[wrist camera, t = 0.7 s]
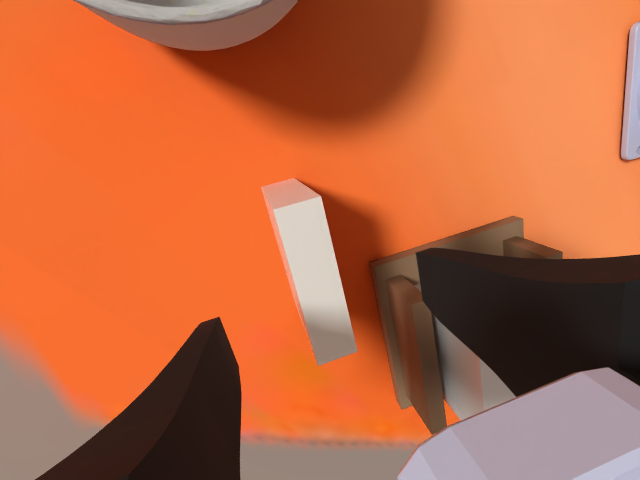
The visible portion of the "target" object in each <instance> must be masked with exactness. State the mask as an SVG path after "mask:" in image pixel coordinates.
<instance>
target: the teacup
mask: <svg viewBox="0 0 640 480" xmlns="http://www.w3.org/2000/svg"><path fill="white" fill-rule="evenodd" d="M74 1H76V2H78V3H80V4H81V5H83V6H85V7H86V8H88V9H89V10H91V11H92V12H94V13H95V14H97V15H99V16H101V17H102V18H104V19H106V20H107V21H109V22H111V23H113V24H114V25H116V26H118V27H120V28H122V29H124V30H126V31H128V32H130V33H132V34H134V35H136V36H138V37H141V38H143V39H146V40H149V41H152V42H155V43H157V44H160V45H163V46H168V47H173V48H178V49H184V50H195V51H211V50H218V49H225V48H229V47H233V46H237V45H239V44H242V43H245V42H247V41H250V40H252V39H254V38H256V37H258V36H260V35H261V34H263V33H265V32H266V31H267V30H269V29H270V28H272V27H273V26H274V25H276V24H277V23H278V22H279V21H280V20H281V19H282V18H283V17H284V16H285V15H286V14H287V13H288V12H289V11H290V10H291V9H292V8H293V7H294V5H295V4H296V3H297V2H298V0H74Z"/></svg>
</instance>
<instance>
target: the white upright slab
mask: <svg viewBox="0 0 640 480" xmlns="http://www.w3.org/2000/svg"><path fill="white" fill-rule="evenodd" d="M261 189H262V192H263V195H264V199H265V202H266V206H267V209H268V212H269V216H270V219H271V223H272V226H273V229H274V233H275V236H276V240H277V243H278V246H279V250H280V253H281V257H282V260H283V263H284V267H285V270H286V274H287V277H288V280H289V284H290V287H291V290H292V294H293V297H294V301H295V304H296V306H297V309H298V312H299V315H300V317H301V320H302V323H303V326H304V328H305V331H306V334H307V337H308V339H309V342H310V345H311V348H312V350H313V353H314V356H315V359H316V361H317V364H318V366H319V365H322V364H325V363H327V362H330V361H333V360H336V359H338V358H341V357H344V356H347V355H349V354H352V353H355V352H358V351H357V347H356V343H355V338H354V334H353V330H352V326H351V321H350V317H349V313H348V309H347V304H346V300H345V296H344V292H343V287H342V283H341V279H340V275H339V270H338V266H337V262H336V258H335V253H334V249H333V245H332V241H331V236H330V232H329V228H328V224H327V219H326V215H325V211H324V207H323V202H322V198H321V196H320V195H319V194H317V193H316V192H314V191H313V190H311V189H310V188H308V187H307V186H305V185H304V184H302V183H301V182H299V181H298V180H297V179H295V178H292V179H288V180H285V181H281V182H277V183H274V184H270V185H266V186H263V187H261Z"/></svg>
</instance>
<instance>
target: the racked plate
mask: <svg viewBox="0 0 640 480" xmlns="http://www.w3.org/2000/svg"><path fill="white" fill-rule="evenodd" d="M414 286H415V287H416V288H417V289H418V290H420V291H421V286H420V284H417V285H414ZM431 314H432V321H433V329H434V336H435V343H436V351H437V358H438V365H439V372H440V380H441V387H442V394H443V398H444V399H445V401H446V402H447V403H448V405H449V406H450V407H451V408H452V410H453V411H454V412H455V413H456V415H457V416H458V417H459V418H460V420H463V419H466V418H468V417H470V416H473V415H475V414H478V413H480V412H482V411H485V410H487V409H489V408H492V407H494V406H497V405H499V404H501V403H504V402H506V401H509V400H511V399H513V398H516V396H515V395H514V394H513V393H512V392H511V391H510V389H509V388H508V387H507V386H506V385H505V384H504V383H503V382H502V380H501V379H500V378H499V377H498V376H497V375H496V374H495V373H494V372H493V371H492V370H491V369H490V368H489V367H488V366H487V365H486V364H485V363H484V362H483V361H482V360H481V359H480V358H479V357H478V356H477V355H475V354H474V353H473V352H472V351H471V350H470V349H469V348H468V347H467V346H466V345H464V344H463V343H462V342H461V341H460V340H459V339H458V338H457V337H456V336H455V335H453V334H452V333H451V332H450V331H449V330H448V329H447V328H446V327H445V326H444V325H443V324H442V323H441V322H440V321H439V320H438V319H437V318H436V317H435V316H434V315H433V313H432V312H431Z"/></svg>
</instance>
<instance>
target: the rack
mask: <svg viewBox="0 0 640 480" xmlns="http://www.w3.org/2000/svg"><path fill="white" fill-rule="evenodd" d="M428 248H446V249H454V250H461V251H468V252H475V253H482V254H490V255H498V256H508V257H518V258H534V259H562V253H563V252H561V251H558V250H555V249H552V248H550V247H547V246H544V245H541V244H538V243H535V242H533V241H530V240H527V239H524V235H523V219H522V218H519V217H515V216H512V217H509V218H505V219H502V220H499V221H496V222H493V223H490V224H487V225H484V226H481V227H477V228H474V229H471V230H468V231H465V232H462V233H459V234H456V235H453V236H450V237H446V238H443V239H440V240H437V241H434V242H431V243H428V244H425V245H422V246H419V247H415V248H412V249H409V250H406V251H403V252H400V253H397V254H394V255H391V256H388V257H384V258H381V259H378V260H375V261H372V262H369V264H370V269H371V274H372V279H373V284H374V289H375V294H376V299H377V304H378V309H379V314H380V319H381V324H382V329H383V334H384V339H385V344H386V349H387V354H388V359H389V364H390V369H391V374H392V379H393V384H394V389H395V395H396V400H397V402H398V404H399V406H400V407H401V409H405V408H407V407H410V406H412V405H413V406H414V408H415V409H416V411H417V413H418V414H419V416H420V417H421V419H422V420H423V422H424V423H425V425H426V426H427V428H428V429H429V431H430V432H431V434H432V435H433V434H435V433H437V432H439V431H440V430H442V429H443V428H445V427H447V423H446V416H445V409H444V401H443V394H442V387H441V380H440V372H439V365H438V358H437V351H436V343H435V336H434V329H433V321H432V314H431V311H430V310H429V308H428V307H427V306H426V305H425V303H424V302H423V300H422V293H421V291H420V290H418V289H417V288H416V287H415V286H414V285H417V284H420V279H419V272H418V265H417V259H416V252H419V251H422V250H425V249H428Z"/></svg>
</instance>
